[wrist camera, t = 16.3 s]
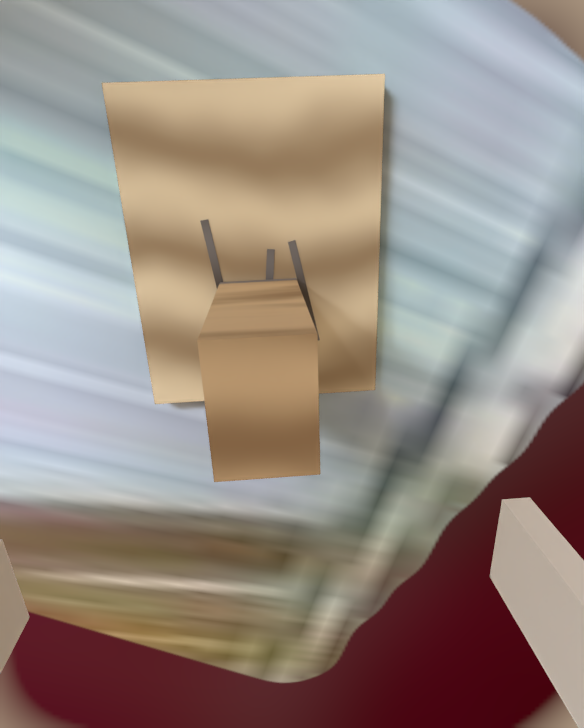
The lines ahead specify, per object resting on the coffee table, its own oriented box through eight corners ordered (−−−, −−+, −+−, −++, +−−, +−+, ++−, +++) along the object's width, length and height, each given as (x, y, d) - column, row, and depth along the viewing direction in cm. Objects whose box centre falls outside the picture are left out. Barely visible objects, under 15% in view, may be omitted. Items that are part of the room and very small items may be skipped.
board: (108, 87, 27) (101, 82, 26) (379, 78, 28) (385, 73, 26) (158, 396, 34) (154, 404, 33) (371, 383, 35) (375, 390, 34)
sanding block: (219, 282, 30) (197, 340, 19) (296, 278, 30) (317, 333, 19) (229, 380, 33) (214, 482, 22) (299, 375, 33) (320, 474, 22)
